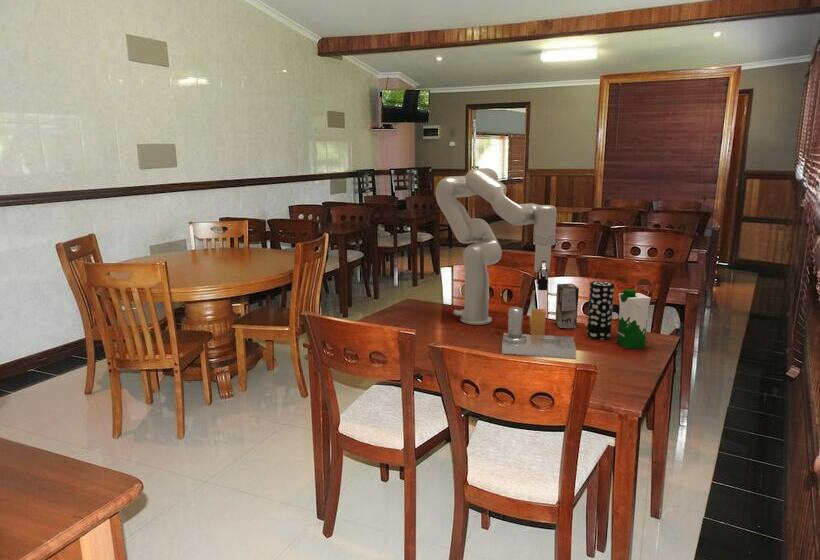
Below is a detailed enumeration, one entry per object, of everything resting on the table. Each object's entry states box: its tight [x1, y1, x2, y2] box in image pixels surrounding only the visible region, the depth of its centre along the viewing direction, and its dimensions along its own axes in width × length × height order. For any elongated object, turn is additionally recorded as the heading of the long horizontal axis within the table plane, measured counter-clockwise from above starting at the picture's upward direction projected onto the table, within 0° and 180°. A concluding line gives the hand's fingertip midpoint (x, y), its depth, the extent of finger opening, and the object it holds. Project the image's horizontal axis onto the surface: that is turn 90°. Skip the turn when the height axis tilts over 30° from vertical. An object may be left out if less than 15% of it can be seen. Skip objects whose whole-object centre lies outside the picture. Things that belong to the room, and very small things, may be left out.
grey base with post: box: [501, 306, 577, 359], centre depth 195 cm, size 24×14×14 cm, turn 78°
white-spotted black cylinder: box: [586, 280, 615, 341], centre depth 208 cm, size 8×8×20 cm
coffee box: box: [554, 283, 580, 329], centre depth 222 cm, size 9×6×16 cm
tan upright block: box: [530, 308, 547, 335], centre depth 209 cm, size 5×4×10 cm
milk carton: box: [615, 288, 652, 350], centre depth 198 cm, size 9×9×20 cm
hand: (541, 287), depth 207 cm, fingers open, 9 cm apart
